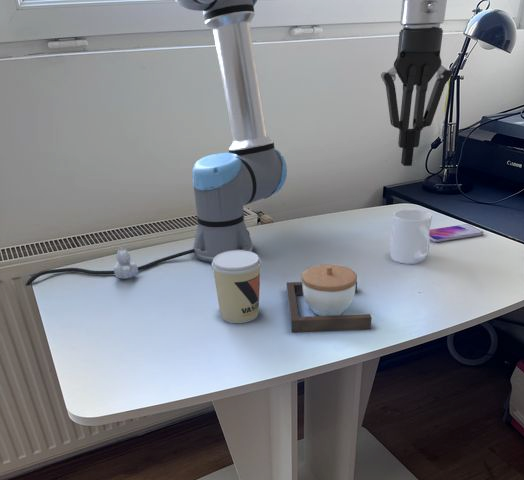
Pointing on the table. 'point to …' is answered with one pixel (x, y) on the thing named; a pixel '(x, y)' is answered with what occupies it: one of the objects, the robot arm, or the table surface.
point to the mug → (410, 236)
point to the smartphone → (454, 232)
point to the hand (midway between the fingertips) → (406, 164)
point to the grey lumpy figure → (124, 265)
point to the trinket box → (328, 288)
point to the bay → (321, 321)
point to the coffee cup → (237, 285)
